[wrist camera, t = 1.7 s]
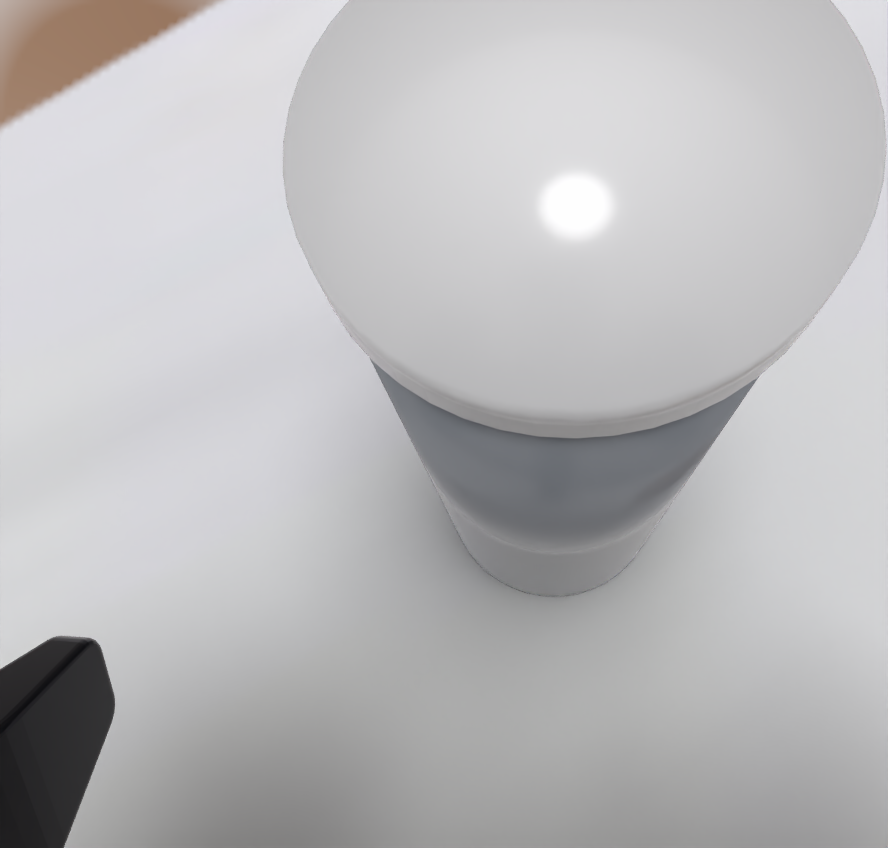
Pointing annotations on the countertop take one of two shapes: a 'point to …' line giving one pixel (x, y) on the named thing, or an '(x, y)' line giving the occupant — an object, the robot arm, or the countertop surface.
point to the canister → (578, 240)
